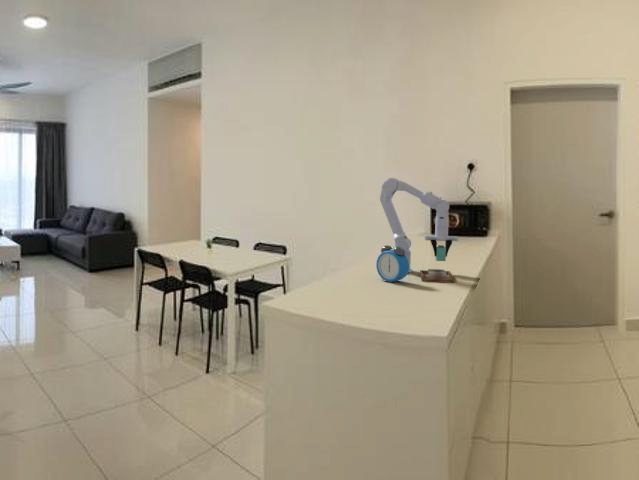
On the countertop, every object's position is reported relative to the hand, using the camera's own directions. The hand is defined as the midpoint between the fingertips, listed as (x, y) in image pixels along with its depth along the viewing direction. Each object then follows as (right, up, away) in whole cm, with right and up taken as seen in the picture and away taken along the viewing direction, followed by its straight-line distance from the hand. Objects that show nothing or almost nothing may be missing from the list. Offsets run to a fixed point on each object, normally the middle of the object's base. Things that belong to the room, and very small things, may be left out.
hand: (440, 256), depth 207 cm
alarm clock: (-25, -10, -15) cm, 31 cm away
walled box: (-5, -9, -10) cm, 15 cm away
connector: (0, -2, 0) cm, 2 cm away
